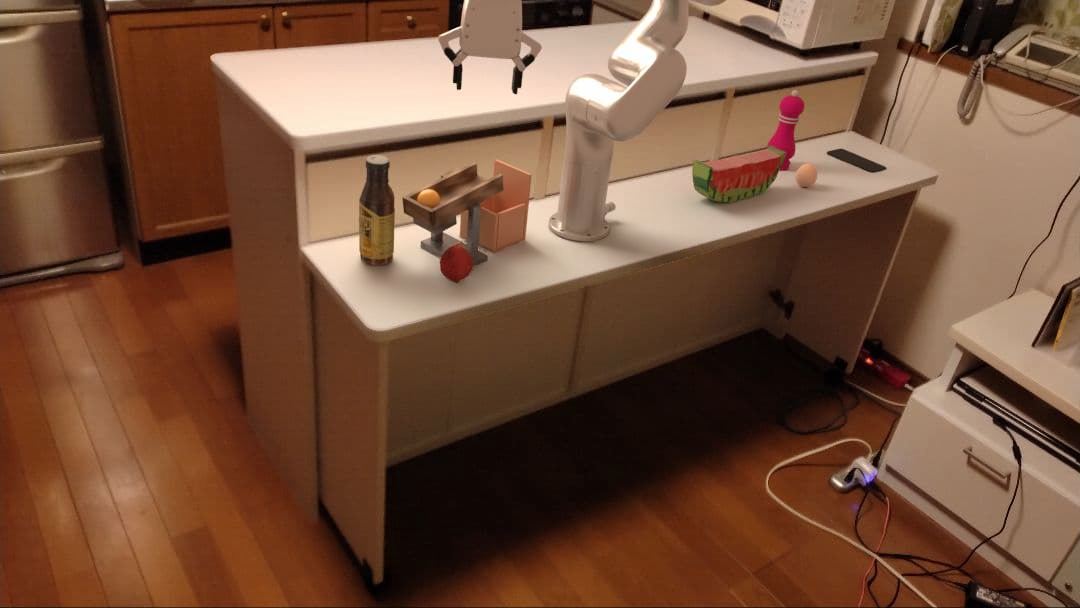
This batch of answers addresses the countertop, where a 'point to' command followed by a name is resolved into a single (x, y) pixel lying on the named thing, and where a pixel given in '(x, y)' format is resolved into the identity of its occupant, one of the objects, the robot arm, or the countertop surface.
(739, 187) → the fruit slice
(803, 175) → the egg
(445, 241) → the stand
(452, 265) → the onion
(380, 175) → the sauce bottle
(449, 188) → the brown wooden tray
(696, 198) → the countertop surface
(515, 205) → the cup
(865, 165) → the phone
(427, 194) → the ball
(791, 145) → the pepper mill
